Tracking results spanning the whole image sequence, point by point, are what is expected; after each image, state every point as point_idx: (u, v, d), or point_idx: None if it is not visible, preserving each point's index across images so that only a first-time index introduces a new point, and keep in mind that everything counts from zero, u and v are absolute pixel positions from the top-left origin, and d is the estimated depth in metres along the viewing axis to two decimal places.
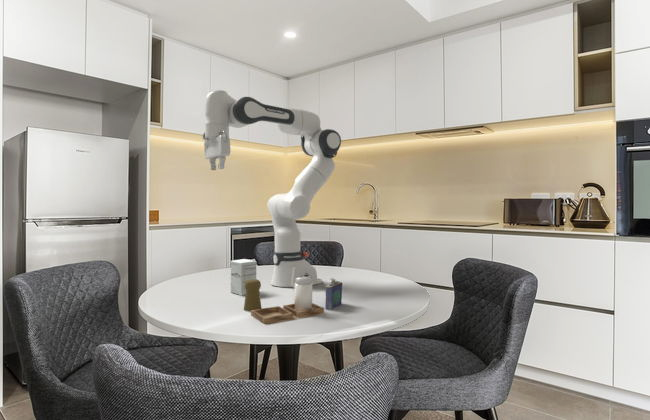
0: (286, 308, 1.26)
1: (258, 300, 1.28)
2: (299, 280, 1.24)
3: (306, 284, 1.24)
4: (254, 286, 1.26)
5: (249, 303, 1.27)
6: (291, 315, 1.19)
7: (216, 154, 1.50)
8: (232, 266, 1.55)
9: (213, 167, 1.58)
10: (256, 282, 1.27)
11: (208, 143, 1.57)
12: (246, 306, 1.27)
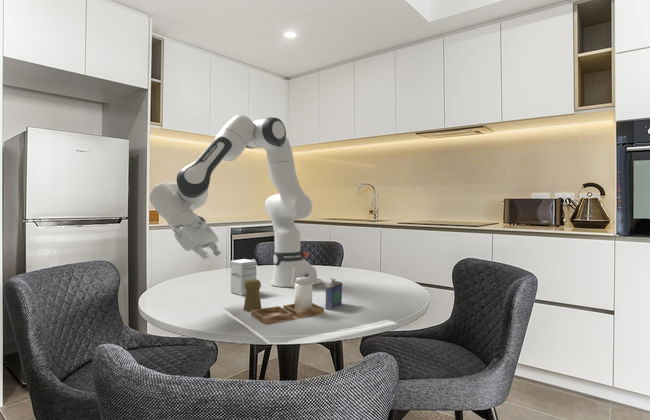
0: (286, 308, 1.26)
1: (258, 300, 1.28)
2: (299, 280, 1.24)
3: (306, 284, 1.24)
4: (254, 286, 1.26)
5: (249, 303, 1.27)
6: (291, 315, 1.19)
7: None
8: (232, 266, 1.55)
9: (215, 253, 1.35)
10: (256, 282, 1.27)
11: None
12: (246, 306, 1.27)
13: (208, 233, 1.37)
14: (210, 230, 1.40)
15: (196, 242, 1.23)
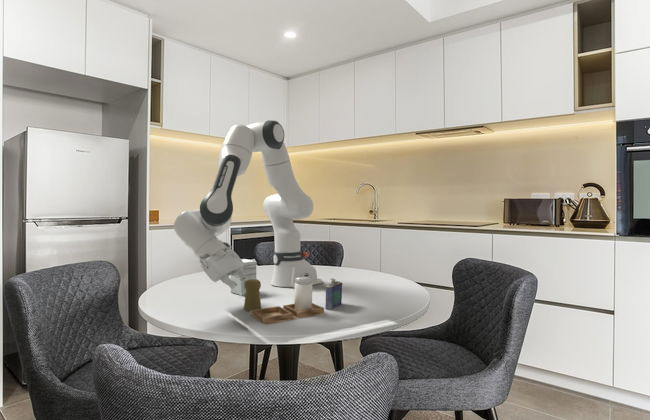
0: (286, 308, 1.26)
1: (258, 300, 1.28)
2: (299, 280, 1.24)
3: (306, 284, 1.24)
4: (254, 286, 1.26)
5: (249, 303, 1.27)
6: (291, 315, 1.19)
7: None
8: None
9: (242, 279, 1.33)
10: (256, 282, 1.27)
11: None
12: (246, 306, 1.27)
13: (234, 259, 1.35)
14: (235, 255, 1.38)
15: (223, 272, 1.22)
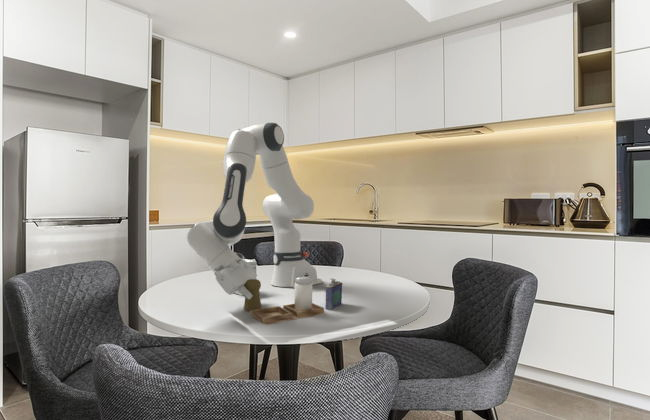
0: (286, 308, 1.26)
1: (258, 300, 1.28)
2: (299, 280, 1.24)
3: (306, 284, 1.24)
4: (254, 286, 1.26)
5: (249, 303, 1.27)
6: (291, 315, 1.19)
7: None
8: None
9: None
10: (256, 282, 1.27)
11: None
12: (246, 306, 1.27)
13: (247, 270, 1.35)
14: (248, 266, 1.37)
15: (238, 285, 1.21)
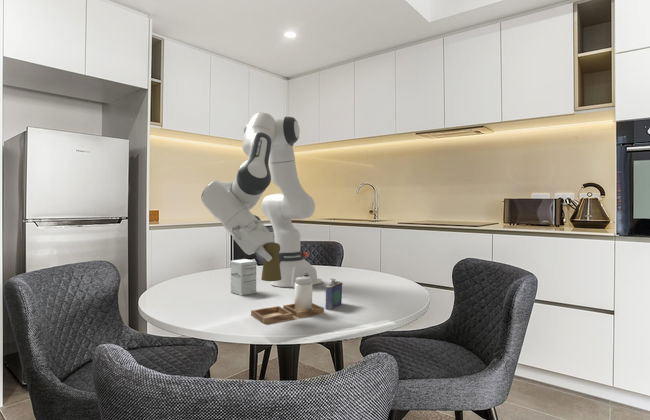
0: (286, 308, 1.26)
1: (278, 264, 1.19)
2: (299, 280, 1.24)
3: (306, 284, 1.24)
4: (274, 249, 1.18)
5: (268, 267, 1.18)
6: (291, 315, 1.19)
7: None
8: (232, 266, 1.55)
9: None
10: (276, 245, 1.18)
11: None
12: (265, 270, 1.18)
13: (265, 233, 1.26)
14: (266, 229, 1.29)
15: (257, 244, 1.13)
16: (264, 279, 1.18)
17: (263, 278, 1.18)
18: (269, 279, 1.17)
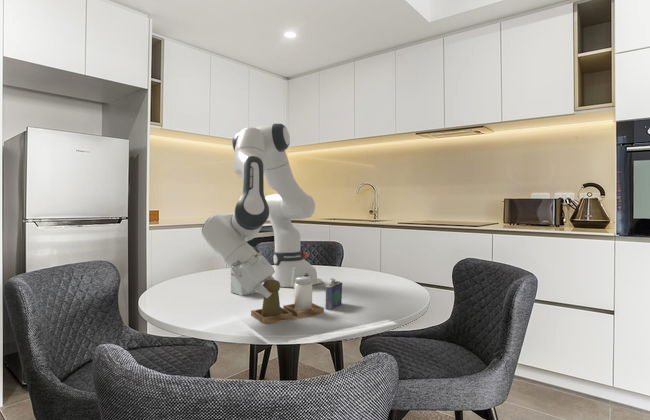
0: (286, 308, 1.26)
1: (277, 302, 1.20)
2: (299, 280, 1.24)
3: (306, 284, 1.24)
4: (274, 288, 1.18)
5: (268, 305, 1.18)
6: (291, 315, 1.19)
7: None
8: None
9: None
10: (276, 283, 1.19)
11: None
12: (265, 308, 1.19)
13: (265, 266, 1.26)
14: (266, 261, 1.29)
15: (257, 281, 1.13)
16: None
17: None
18: None
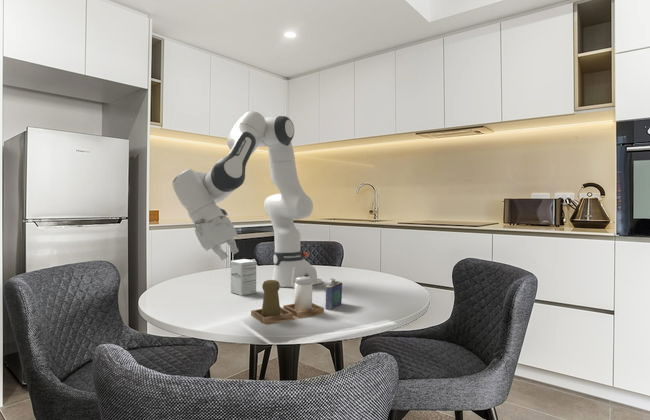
0: (286, 308, 1.26)
1: (277, 302, 1.20)
2: (299, 280, 1.24)
3: (306, 284, 1.24)
4: (273, 288, 1.18)
5: (267, 305, 1.18)
6: (291, 315, 1.19)
7: None
8: (232, 266, 1.55)
9: (233, 250, 1.29)
10: (275, 283, 1.19)
11: None
12: (264, 309, 1.19)
13: (228, 228, 1.30)
14: (230, 224, 1.32)
15: (217, 242, 1.17)
16: None
17: None
18: None
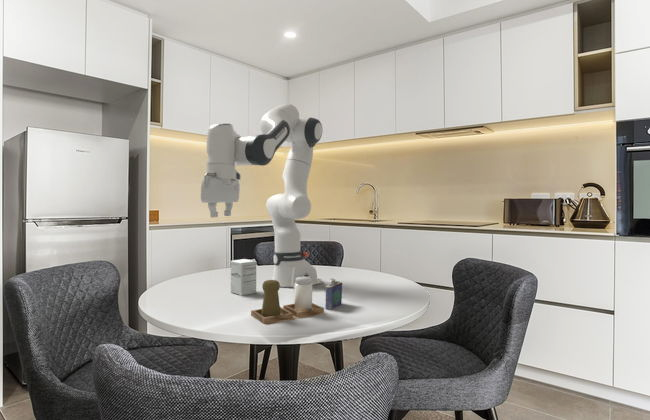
0: (286, 308, 1.26)
1: (277, 302, 1.20)
2: (299, 280, 1.24)
3: (306, 284, 1.24)
4: (273, 288, 1.18)
5: (267, 305, 1.18)
6: (291, 315, 1.19)
7: None
8: (232, 266, 1.55)
9: (226, 213, 1.33)
10: (275, 283, 1.19)
11: None
12: (264, 309, 1.19)
13: (233, 192, 1.34)
14: (237, 189, 1.37)
15: (214, 200, 1.21)
16: None
17: None
18: None
